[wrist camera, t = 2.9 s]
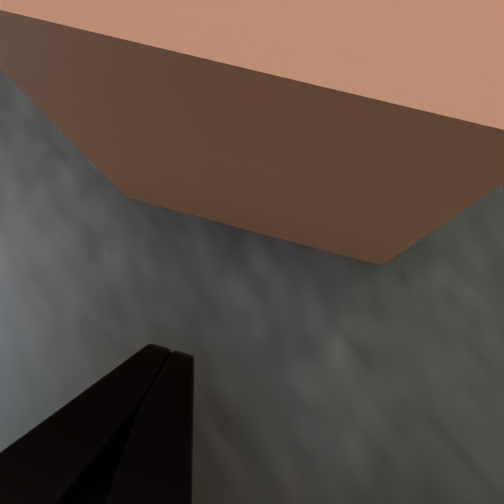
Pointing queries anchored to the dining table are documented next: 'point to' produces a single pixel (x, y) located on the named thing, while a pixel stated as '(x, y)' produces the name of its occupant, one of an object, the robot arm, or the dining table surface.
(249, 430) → the dining table surface
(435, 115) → the tan rectangular block
